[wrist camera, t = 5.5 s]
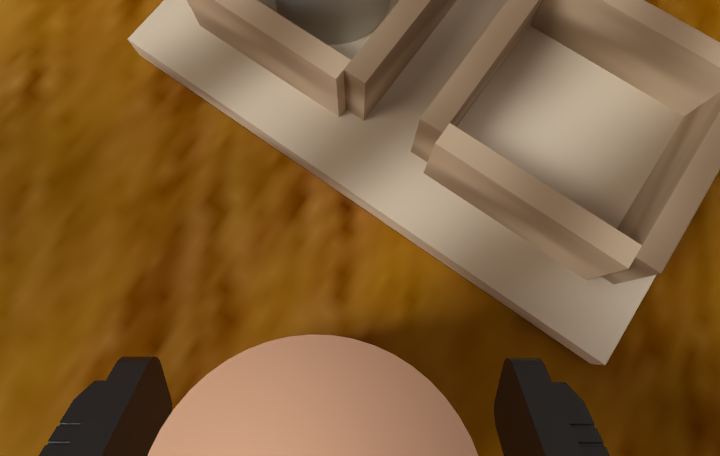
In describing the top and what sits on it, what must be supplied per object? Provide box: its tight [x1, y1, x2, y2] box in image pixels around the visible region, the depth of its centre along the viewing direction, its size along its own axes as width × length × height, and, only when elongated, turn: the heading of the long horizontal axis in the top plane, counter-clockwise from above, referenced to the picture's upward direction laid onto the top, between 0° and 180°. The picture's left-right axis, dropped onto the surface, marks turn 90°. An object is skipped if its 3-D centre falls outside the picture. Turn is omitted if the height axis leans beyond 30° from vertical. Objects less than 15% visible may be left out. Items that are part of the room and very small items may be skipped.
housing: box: [128, 0, 720, 365], centre depth 17 cm, size 20×12×4 cm, turn 55°
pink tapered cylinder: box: [148, 334, 478, 456], centre depth 11 cm, size 4×4×10 cm
